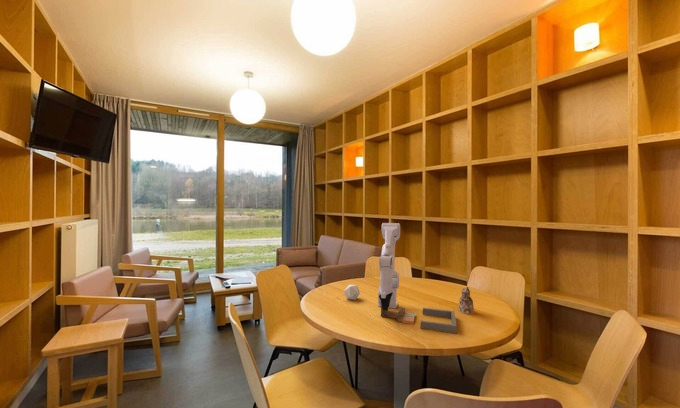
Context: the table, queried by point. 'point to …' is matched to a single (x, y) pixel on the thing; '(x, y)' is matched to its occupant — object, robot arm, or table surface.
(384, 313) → the scraper
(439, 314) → the grey flat u-shaped piece
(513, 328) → the table surface
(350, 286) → the die
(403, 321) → the tile terracotta
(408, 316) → the tile slate
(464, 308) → the figurine
